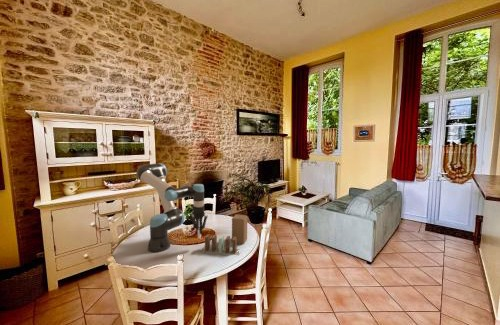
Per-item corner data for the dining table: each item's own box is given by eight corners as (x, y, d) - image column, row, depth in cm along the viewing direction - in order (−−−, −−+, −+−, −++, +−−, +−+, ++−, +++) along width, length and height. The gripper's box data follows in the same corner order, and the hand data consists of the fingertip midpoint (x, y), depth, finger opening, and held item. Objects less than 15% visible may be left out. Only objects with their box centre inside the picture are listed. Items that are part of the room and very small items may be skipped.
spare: (218, 252, 149) (218, 238, 148) (220, 248, 153) (220, 235, 153) (221, 252, 148) (221, 238, 147) (223, 248, 153) (223, 235, 152)
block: (247, 239, 170) (247, 215, 168) (243, 245, 160) (244, 219, 158) (235, 237, 172) (235, 213, 170) (231, 243, 163) (231, 218, 161)
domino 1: (205, 250, 150) (204, 237, 149) (207, 247, 155) (207, 234, 154) (207, 251, 150) (207, 237, 149) (210, 247, 155) (210, 234, 154)
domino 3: (225, 252, 148) (225, 239, 147) (227, 249, 153) (227, 235, 152) (228, 253, 147) (228, 239, 147) (230, 249, 152) (230, 236, 151)
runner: (200, 251, 149) (200, 251, 149) (204, 246, 157) (204, 246, 157) (238, 255, 145) (238, 255, 145) (241, 249, 153) (241, 249, 153)
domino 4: (232, 253, 147) (232, 239, 146) (234, 249, 152) (234, 236, 151) (235, 253, 147) (235, 239, 146) (236, 250, 152) (236, 236, 151)
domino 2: (211, 251, 149) (211, 237, 148) (214, 247, 154) (214, 234, 153) (214, 251, 149) (214, 238, 148) (216, 248, 154) (216, 235, 153)
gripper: (187, 207, 148) (188, 239, 150) (205, 208, 146) (206, 240, 148) (192, 203, 155) (193, 234, 157) (209, 204, 153) (209, 236, 155)
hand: (199, 237), depth 153 cm, fingers closed
